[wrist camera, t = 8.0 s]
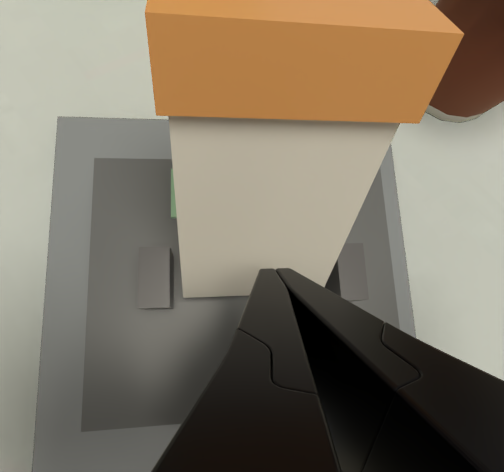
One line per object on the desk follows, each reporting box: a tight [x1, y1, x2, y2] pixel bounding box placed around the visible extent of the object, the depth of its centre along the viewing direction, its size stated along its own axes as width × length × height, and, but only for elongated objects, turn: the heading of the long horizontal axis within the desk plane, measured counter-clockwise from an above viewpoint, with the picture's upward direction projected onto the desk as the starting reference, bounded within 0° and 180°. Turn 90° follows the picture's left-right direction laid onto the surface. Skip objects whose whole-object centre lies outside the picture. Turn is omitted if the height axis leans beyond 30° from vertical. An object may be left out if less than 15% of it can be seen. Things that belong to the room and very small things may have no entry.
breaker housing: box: [32, 117, 416, 472], centre depth 16 cm, size 18×18×7 cm
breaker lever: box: [145, 0, 464, 298], centre depth 10 cm, size 2×5×9 cm, turn 92°
